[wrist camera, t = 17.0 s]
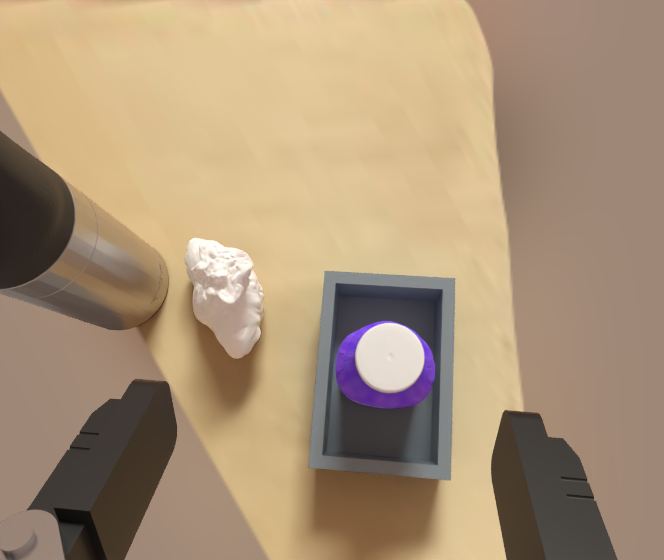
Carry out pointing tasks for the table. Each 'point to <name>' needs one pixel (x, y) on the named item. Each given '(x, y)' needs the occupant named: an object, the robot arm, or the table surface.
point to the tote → (384, 424)
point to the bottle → (385, 366)
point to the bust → (226, 294)
